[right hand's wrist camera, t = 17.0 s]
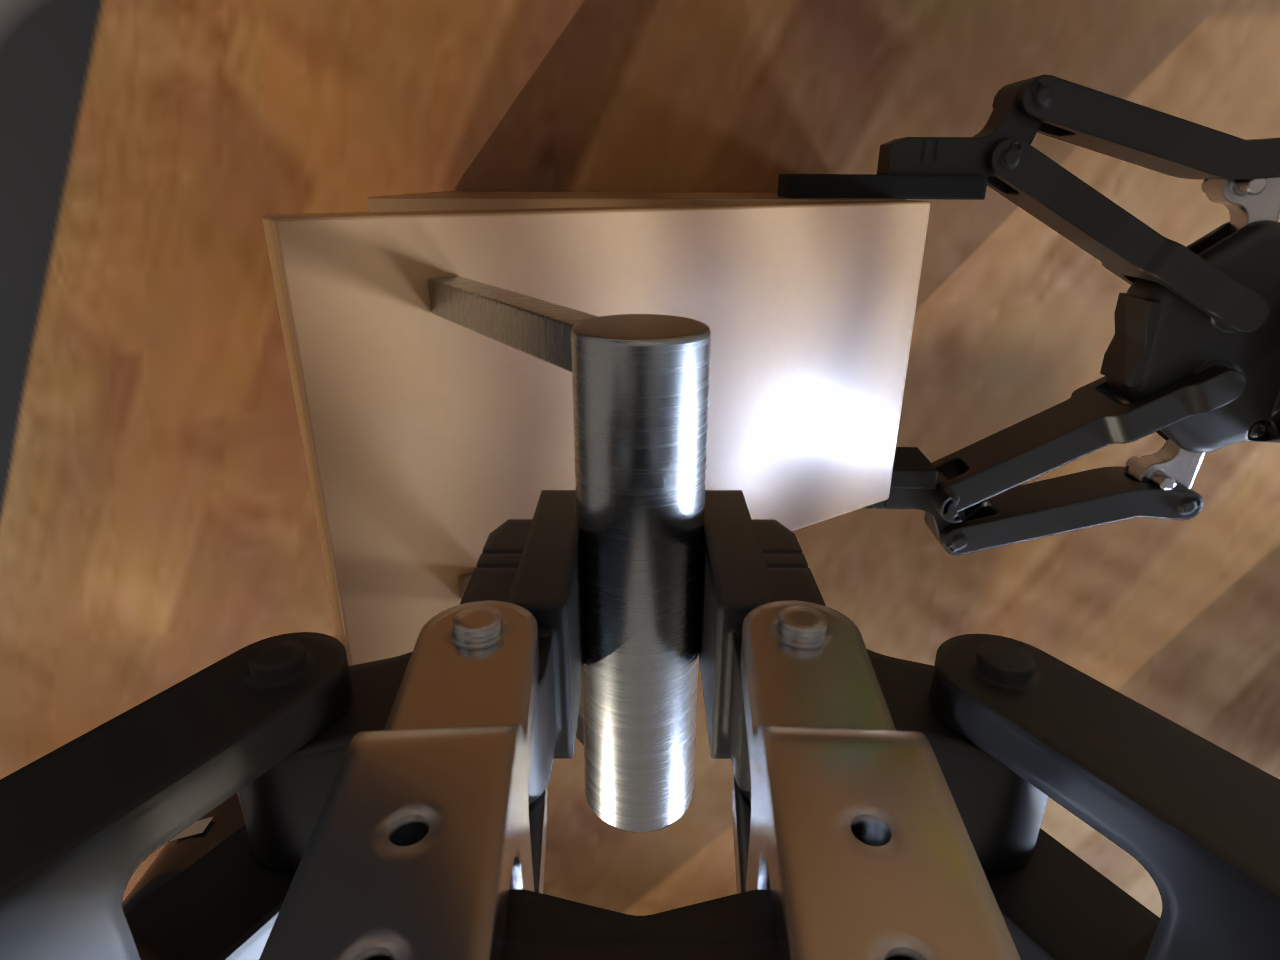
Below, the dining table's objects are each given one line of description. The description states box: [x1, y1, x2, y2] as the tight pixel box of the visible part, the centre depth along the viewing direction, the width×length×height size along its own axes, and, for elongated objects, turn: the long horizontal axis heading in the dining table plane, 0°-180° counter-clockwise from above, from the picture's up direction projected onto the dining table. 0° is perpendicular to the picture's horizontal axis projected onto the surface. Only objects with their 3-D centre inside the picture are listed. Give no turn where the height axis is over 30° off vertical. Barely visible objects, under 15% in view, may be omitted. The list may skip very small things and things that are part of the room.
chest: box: [367, 191, 905, 212], centre depth 30 cm, size 17×10×10 cm, turn 90°
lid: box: [262, 200, 931, 833], centre depth 17 cm, size 18×10×9 cm
